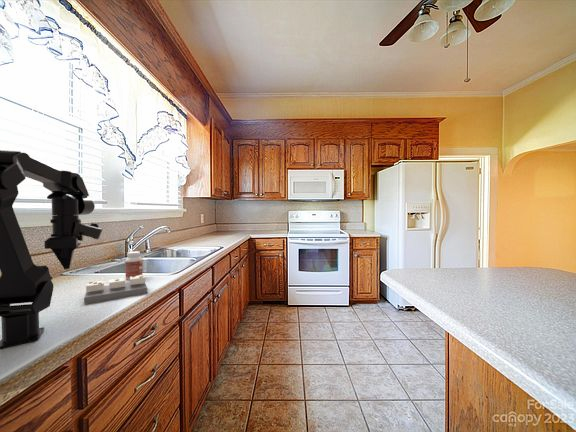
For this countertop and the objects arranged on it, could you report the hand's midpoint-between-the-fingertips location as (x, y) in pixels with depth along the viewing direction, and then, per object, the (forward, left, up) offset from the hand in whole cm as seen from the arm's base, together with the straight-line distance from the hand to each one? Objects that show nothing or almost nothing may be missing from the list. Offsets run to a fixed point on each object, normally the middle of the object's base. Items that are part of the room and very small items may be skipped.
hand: (67, 268), depth 72 cm
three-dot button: (+8, -6, -9) cm, 14 cm away
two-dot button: (+8, -18, -9) cm, 22 cm away
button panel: (+8, -12, -12) cm, 19 cm away
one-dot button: (+8, -12, -9) cm, 17 cm away
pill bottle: (+28, -18, -12) cm, 35 cm away
